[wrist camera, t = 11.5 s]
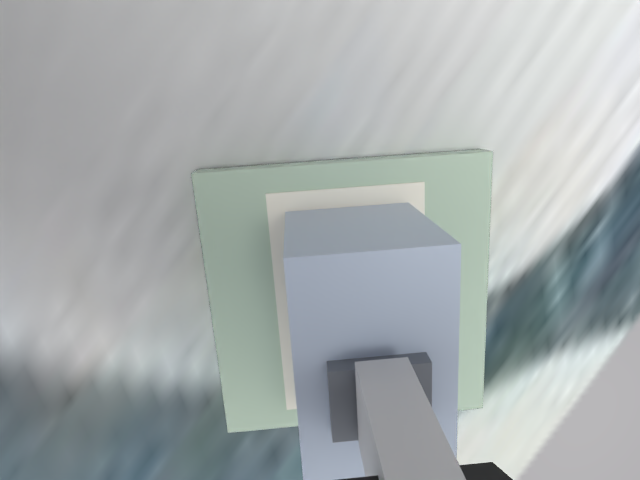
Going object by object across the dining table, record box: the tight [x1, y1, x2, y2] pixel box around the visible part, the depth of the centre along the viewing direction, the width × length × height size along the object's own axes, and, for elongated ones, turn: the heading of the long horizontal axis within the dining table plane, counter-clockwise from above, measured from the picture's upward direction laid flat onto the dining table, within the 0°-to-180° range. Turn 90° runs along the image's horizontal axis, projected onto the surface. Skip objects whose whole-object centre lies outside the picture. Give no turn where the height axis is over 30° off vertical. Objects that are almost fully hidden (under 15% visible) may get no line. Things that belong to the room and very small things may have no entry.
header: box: [191, 149, 493, 433], centre depth 18 cm, size 12×12×5 cm
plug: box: [283, 202, 461, 480], centre depth 17 cm, size 9×5×7 cm, turn 4°
